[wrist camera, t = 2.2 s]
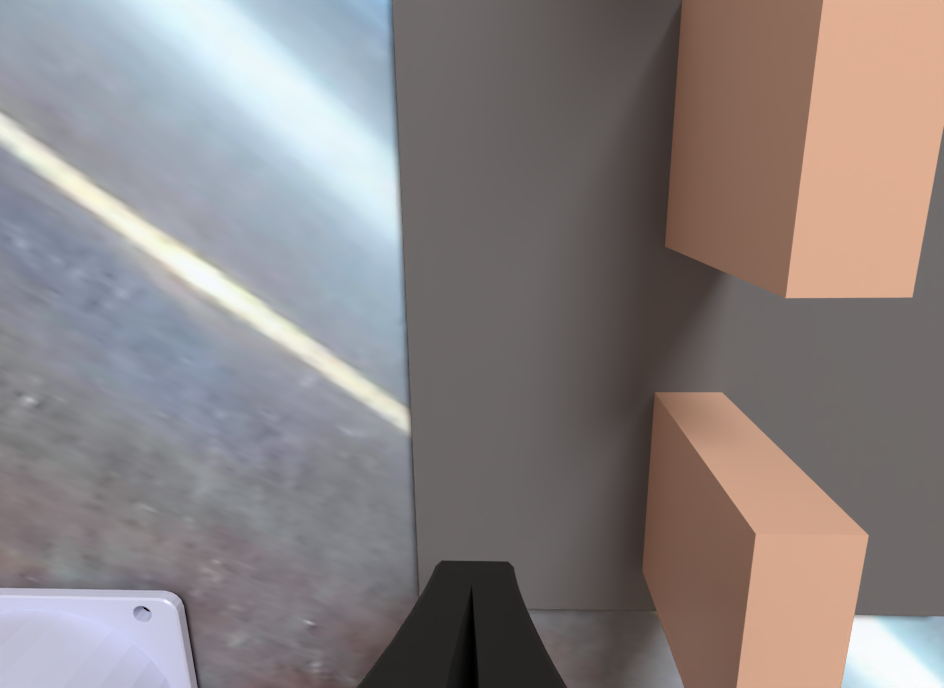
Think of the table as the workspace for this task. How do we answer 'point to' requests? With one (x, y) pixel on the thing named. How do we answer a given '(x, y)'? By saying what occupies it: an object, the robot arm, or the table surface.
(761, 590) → the tile
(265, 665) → the table surface
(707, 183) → the tile
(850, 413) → the mat
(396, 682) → the robot arm
